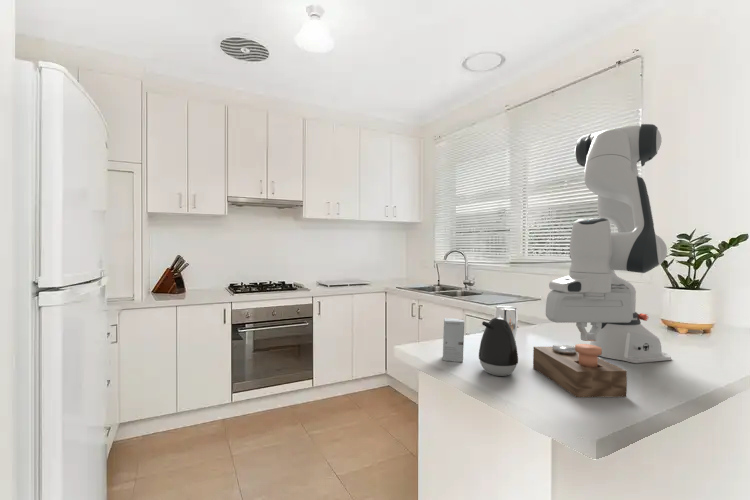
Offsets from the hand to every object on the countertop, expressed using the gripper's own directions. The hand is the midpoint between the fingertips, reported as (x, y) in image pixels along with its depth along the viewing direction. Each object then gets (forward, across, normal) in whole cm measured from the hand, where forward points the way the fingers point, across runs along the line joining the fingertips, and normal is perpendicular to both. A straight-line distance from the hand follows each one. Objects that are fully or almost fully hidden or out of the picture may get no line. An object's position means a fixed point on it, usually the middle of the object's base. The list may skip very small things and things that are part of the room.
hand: (588, 340), depth 88 cm
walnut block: (+12, 0, -5) cm, 13 cm away
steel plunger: (+10, 0, -10) cm, 14 cm away
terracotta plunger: (+7, 0, 0) cm, 7 cm away
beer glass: (+12, +9, -27) cm, 31 cm away
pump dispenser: (+12, +18, -11) cm, 24 cm away
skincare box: (+12, +27, -23) cm, 37 cm away
